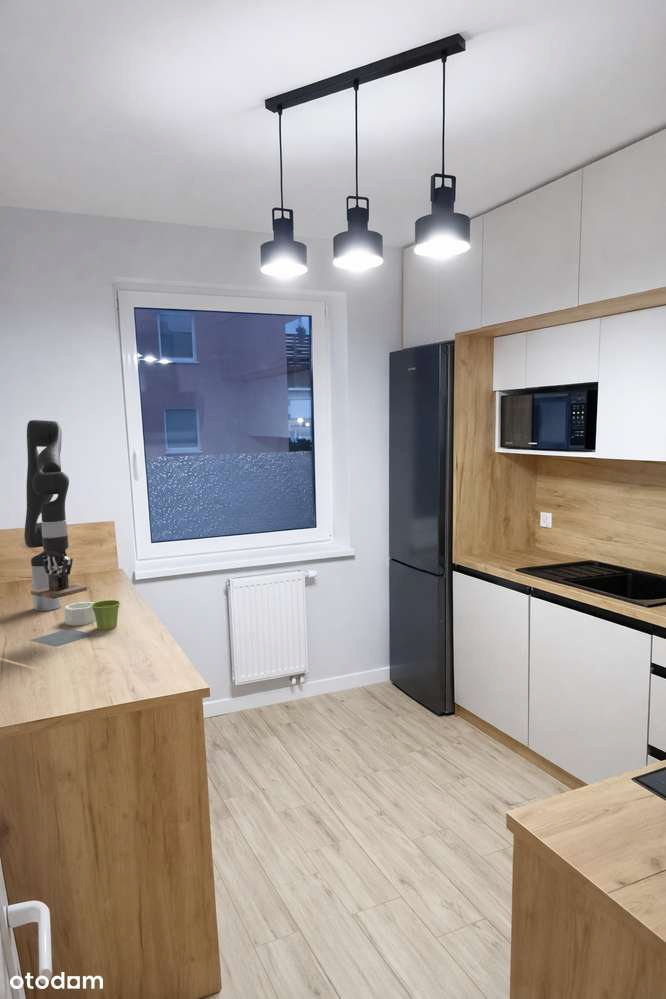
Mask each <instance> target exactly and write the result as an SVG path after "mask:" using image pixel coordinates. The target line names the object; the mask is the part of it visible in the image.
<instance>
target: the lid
mask: <svg viewBox="0 0 666 999" xmlns="http://www.w3.org/2000/svg"><path fill="white" fill-rule="evenodd" d="M58 578H59V577H58V574H57V573H54V574H49V575H48V580H49V587H45V588H41V589H37V590H33V591H32V590H30V595H32V596H33V595H36V596H41V597H46V598H52V599H56V598H59V597H60V598H63V597H66V596H70V595H75V594H78V593H82V592H87V591H88V587H87V586H85V585H79V584H72V583H69V575H67V576H66V588H63V589H59V585H58Z"/></svg>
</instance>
